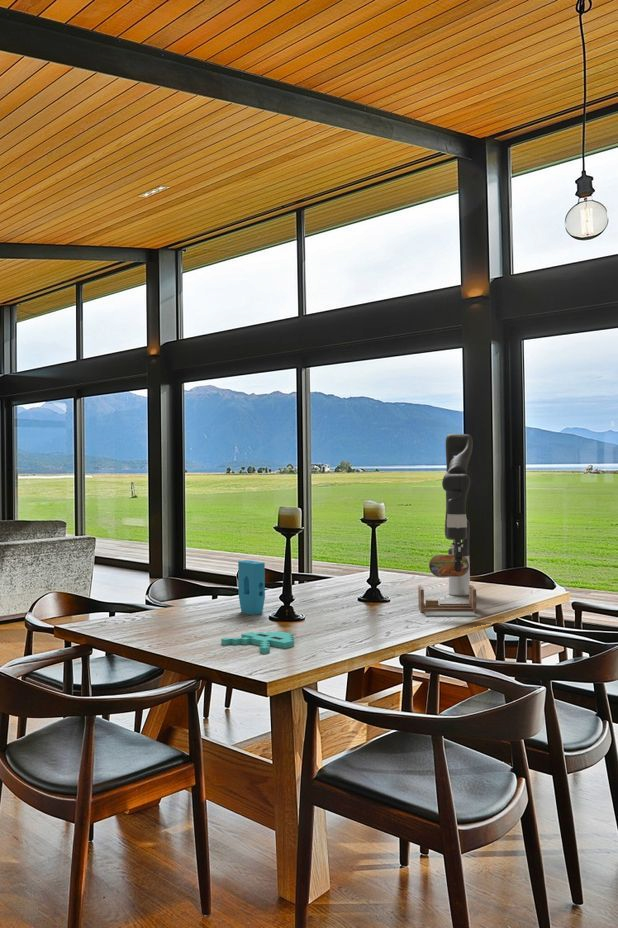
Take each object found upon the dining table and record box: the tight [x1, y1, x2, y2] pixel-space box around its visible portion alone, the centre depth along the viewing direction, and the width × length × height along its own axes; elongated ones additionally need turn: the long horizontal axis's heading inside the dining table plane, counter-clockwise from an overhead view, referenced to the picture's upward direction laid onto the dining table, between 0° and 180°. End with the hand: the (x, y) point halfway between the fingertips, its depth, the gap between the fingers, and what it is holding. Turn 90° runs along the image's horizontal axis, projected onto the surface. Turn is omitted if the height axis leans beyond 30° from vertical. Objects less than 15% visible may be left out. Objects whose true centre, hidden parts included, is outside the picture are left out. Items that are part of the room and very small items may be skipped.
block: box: [237, 559, 266, 616], centre depth 307 cm, size 12×5×20 cm, turn 41°
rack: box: [417, 584, 477, 614], centre depth 308 cm, size 11×21×9 cm, turn 87°
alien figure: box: [220, 631, 295, 655], centre depth 254 cm, size 20×2×20 cm
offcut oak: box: [425, 599, 439, 605], centre depth 312 cm, size 2×5×2 cm, turn 79°
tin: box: [428, 554, 469, 578], centre depth 298 cm, size 15×3×8 cm, turn 87°
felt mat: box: [424, 612, 477, 618], centre depth 298 cm, size 7×19×1 cm, turn 87°
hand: (457, 571), depth 298 cm, fingers closed on tin, 2 cm apart
